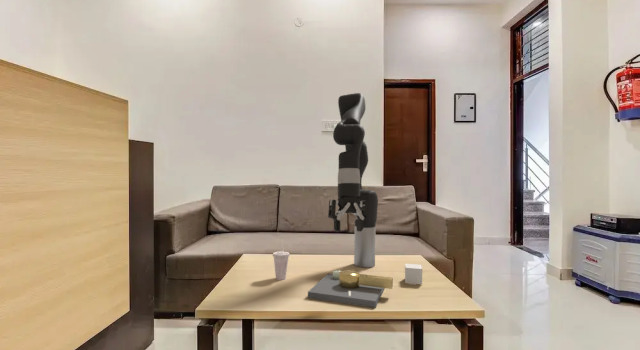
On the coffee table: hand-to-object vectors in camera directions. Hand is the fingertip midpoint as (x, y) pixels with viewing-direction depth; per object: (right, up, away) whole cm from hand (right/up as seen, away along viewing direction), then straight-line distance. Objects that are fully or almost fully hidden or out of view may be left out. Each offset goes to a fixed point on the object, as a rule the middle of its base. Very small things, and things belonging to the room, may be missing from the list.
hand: (348, 231), depth 110 cm
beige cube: (+26, -22, +16) cm, 37 cm away
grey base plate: (+1, -21, +4) cm, 22 cm away
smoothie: (-24, -21, +17) cm, 37 cm away
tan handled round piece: (+6, -19, +3) cm, 20 cm away
